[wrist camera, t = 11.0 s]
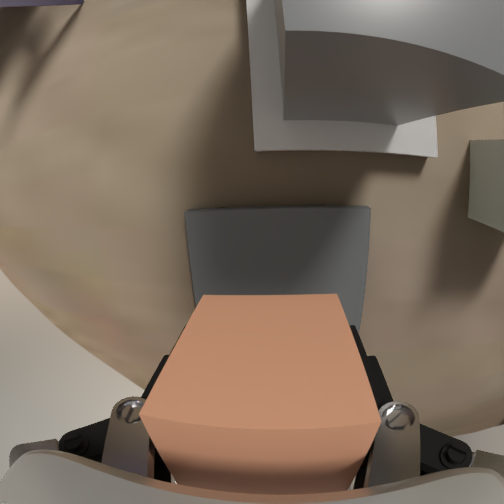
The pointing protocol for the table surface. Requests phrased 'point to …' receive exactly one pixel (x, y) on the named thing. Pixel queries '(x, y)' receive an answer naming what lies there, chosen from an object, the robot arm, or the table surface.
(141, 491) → the robot arm
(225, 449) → the terracotta block
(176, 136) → the table surface
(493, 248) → the table surface
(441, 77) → the mounted unit
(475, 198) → the grey block
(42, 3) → the robotic device
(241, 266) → the mat
